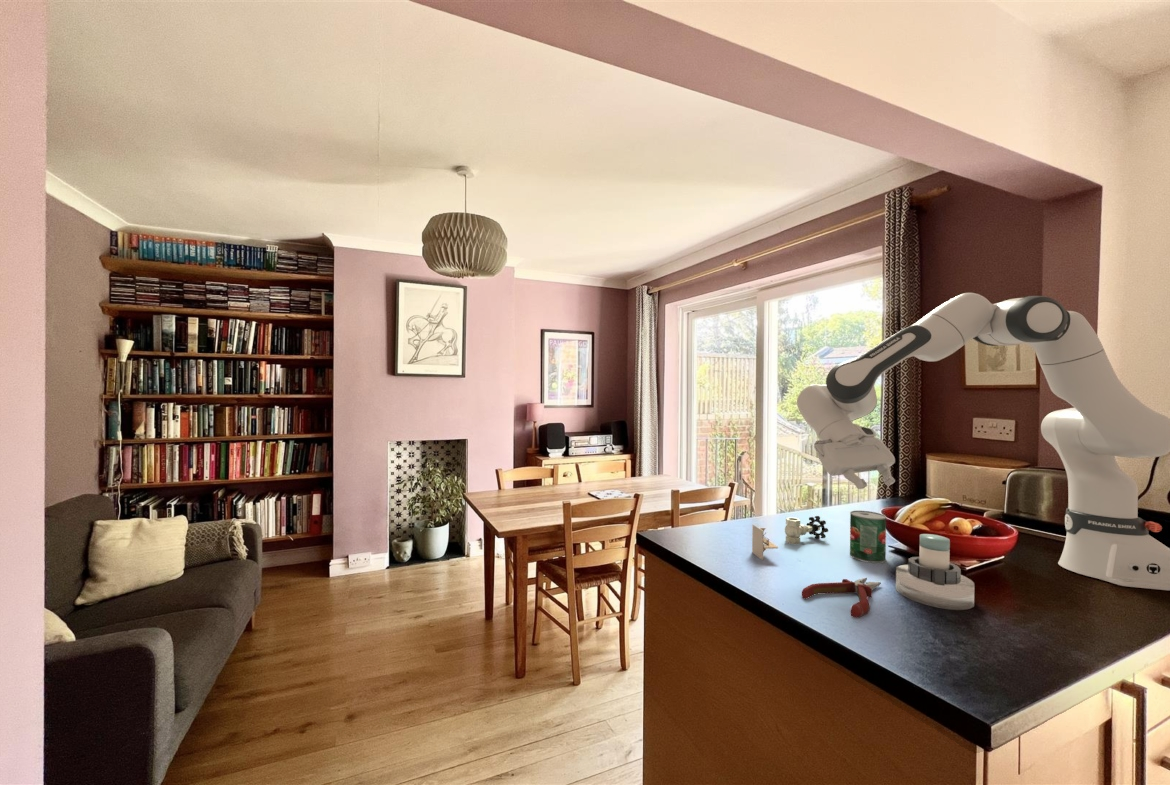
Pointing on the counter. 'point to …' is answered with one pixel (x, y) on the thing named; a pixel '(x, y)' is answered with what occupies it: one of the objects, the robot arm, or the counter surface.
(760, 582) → the counter surface
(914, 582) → the ringed white base
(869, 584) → the pliers
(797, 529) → the valve
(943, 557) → the jar with teal lid
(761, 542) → the architectural model
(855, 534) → the canned tomato
